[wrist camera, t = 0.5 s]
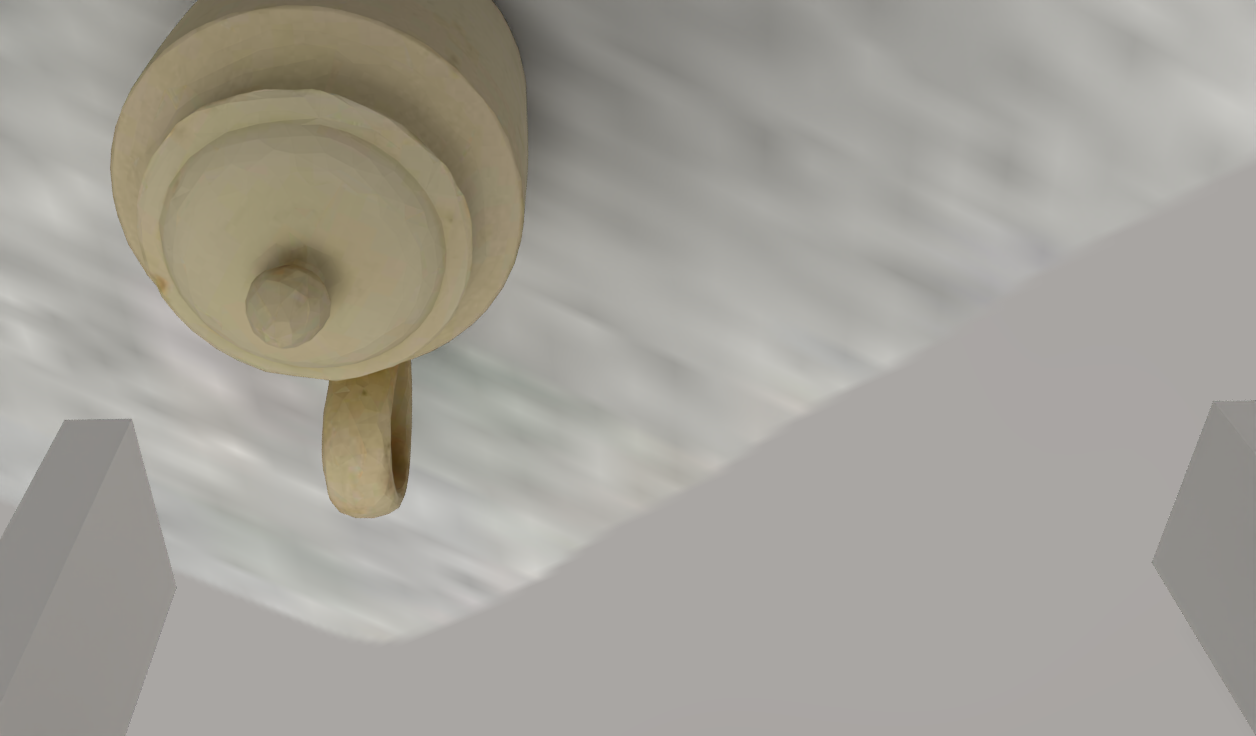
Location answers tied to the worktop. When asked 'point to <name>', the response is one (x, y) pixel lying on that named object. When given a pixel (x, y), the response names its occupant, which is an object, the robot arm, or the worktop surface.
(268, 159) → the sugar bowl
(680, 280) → the worktop surface
